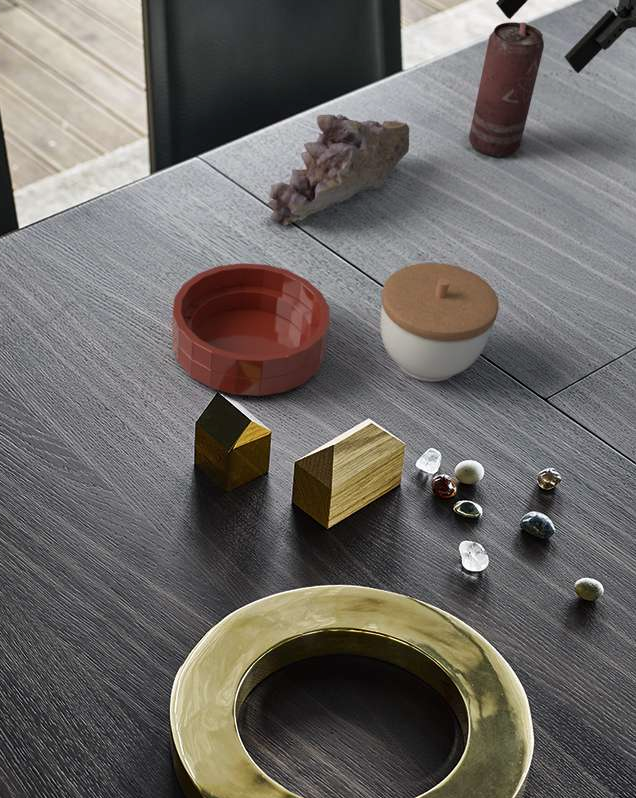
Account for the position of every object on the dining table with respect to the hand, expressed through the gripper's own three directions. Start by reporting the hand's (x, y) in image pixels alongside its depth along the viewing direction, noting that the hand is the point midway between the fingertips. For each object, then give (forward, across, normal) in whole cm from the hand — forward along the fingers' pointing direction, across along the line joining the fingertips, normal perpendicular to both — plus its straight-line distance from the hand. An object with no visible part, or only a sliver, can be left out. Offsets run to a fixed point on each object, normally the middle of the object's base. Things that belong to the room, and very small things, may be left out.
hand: (535, 37), depth 141 cm
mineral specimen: (+27, -3, +9) cm, 29 cm away
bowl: (+42, -24, +24) cm, 54 cm away
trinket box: (+31, -32, +13) cm, 46 cm away
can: (+11, 0, -7) cm, 13 cm away
